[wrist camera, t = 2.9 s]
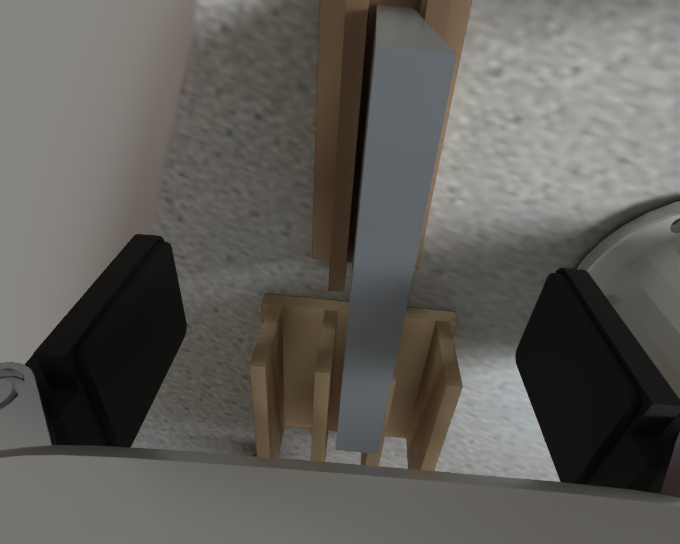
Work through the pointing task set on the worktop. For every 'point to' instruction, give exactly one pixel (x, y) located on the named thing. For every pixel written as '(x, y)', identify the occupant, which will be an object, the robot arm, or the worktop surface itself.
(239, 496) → the robot arm
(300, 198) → the worktop surface
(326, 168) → the plate stand
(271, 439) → the rack
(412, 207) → the plate
